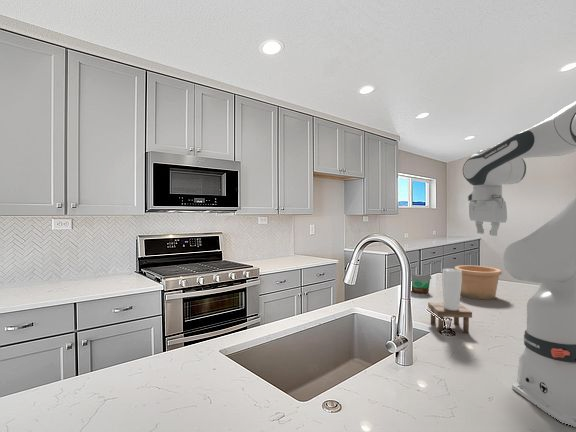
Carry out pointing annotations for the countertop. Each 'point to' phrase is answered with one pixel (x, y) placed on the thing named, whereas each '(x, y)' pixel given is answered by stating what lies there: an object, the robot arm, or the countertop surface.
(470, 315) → the walnut stool
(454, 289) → the drinking glass
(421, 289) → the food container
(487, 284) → the pottery
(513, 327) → the countertop surface
